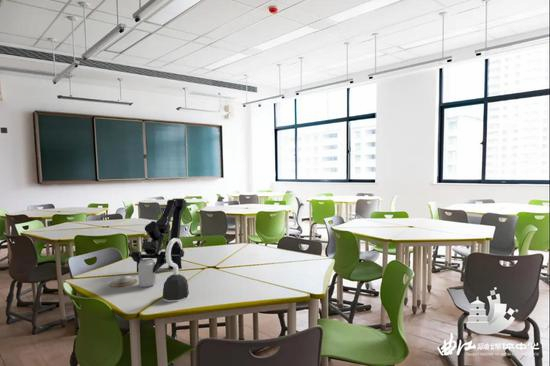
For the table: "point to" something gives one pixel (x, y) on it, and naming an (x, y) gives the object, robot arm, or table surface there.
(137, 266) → the robot arm
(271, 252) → the table surface
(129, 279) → the stub stand
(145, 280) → the can
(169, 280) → the hook
